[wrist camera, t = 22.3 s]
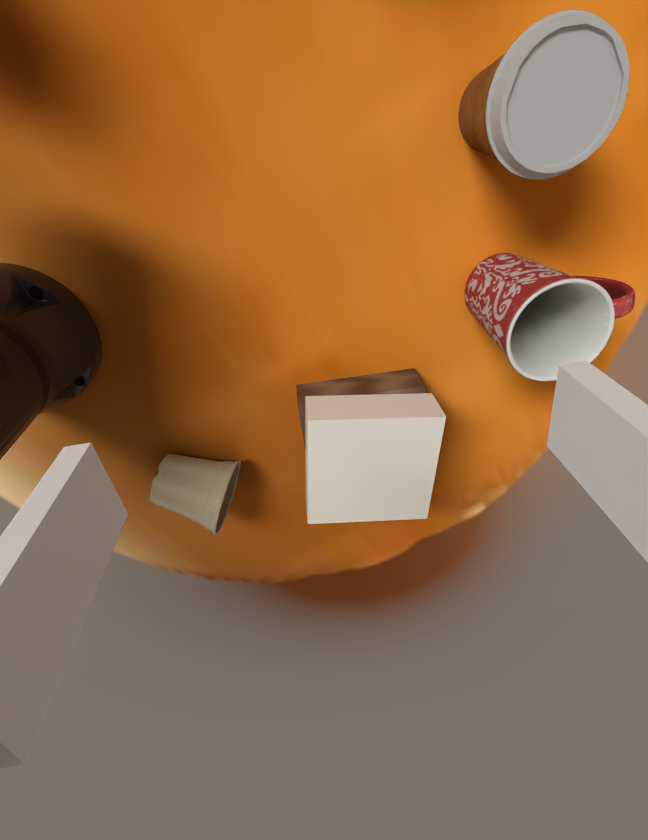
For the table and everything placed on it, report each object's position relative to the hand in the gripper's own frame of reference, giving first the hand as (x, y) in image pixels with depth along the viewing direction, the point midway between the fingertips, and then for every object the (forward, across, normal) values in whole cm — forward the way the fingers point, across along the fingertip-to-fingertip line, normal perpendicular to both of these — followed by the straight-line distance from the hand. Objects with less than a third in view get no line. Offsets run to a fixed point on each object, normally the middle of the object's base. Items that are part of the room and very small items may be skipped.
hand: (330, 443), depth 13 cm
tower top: (+32, +4, -24) cm, 40 cm away
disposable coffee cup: (+37, +19, +7) cm, 42 cm away
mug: (+37, +22, -9) cm, 44 cm away
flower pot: (+34, -22, -25) cm, 47 cm away
